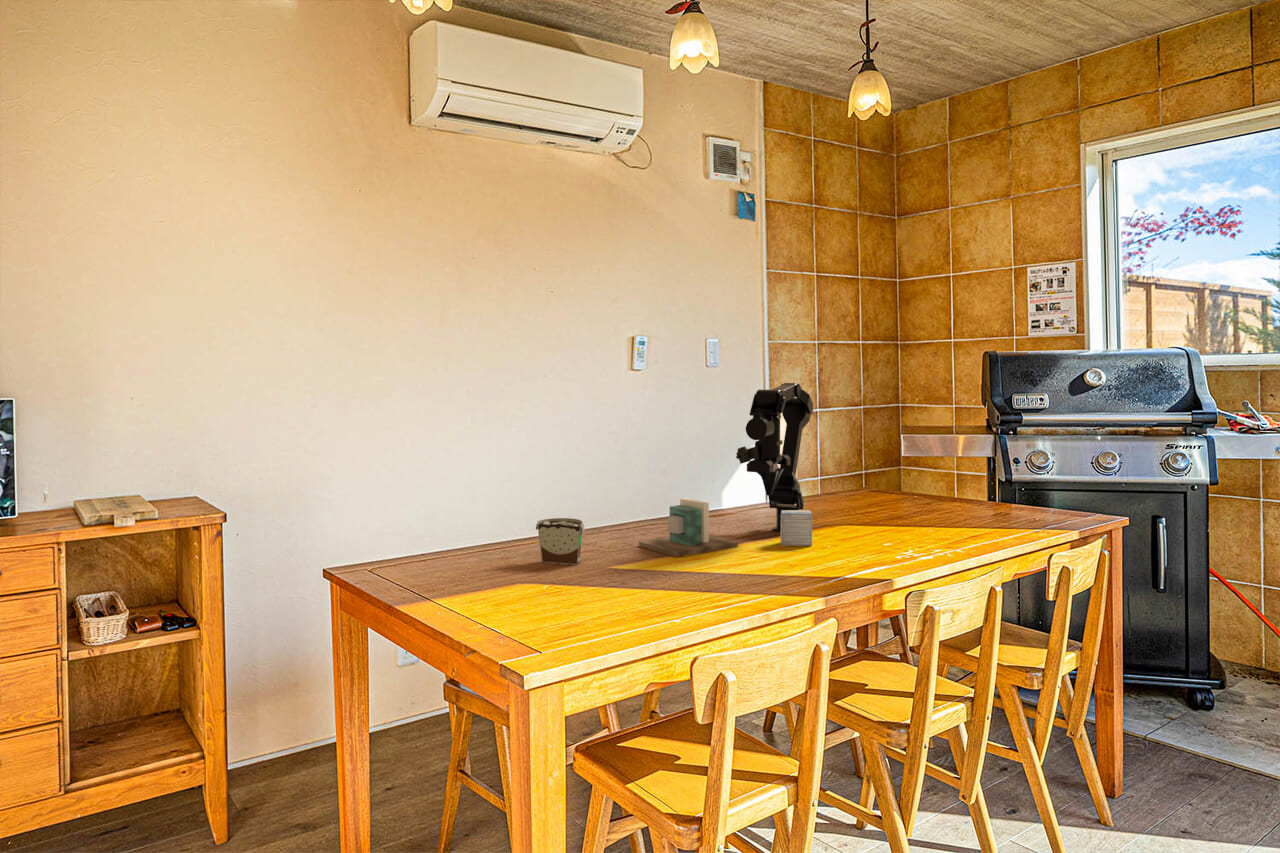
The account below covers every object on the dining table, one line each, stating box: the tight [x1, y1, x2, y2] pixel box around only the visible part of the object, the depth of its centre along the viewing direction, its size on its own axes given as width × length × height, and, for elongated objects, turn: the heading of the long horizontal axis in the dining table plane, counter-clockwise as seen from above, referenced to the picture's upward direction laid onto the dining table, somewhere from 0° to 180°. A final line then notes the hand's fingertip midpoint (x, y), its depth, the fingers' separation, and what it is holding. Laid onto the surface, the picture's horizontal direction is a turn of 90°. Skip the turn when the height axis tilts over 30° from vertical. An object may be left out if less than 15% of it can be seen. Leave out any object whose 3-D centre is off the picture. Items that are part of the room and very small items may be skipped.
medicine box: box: [780, 509, 813, 547], centre depth 221 cm, size 8×4×9 cm, turn 84°
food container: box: [535, 517, 586, 566], centre depth 206 cm, size 12×6×10 cm, turn 71°
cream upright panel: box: [667, 497, 710, 542], centre depth 220 cm, size 8×10×10 cm
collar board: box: [638, 504, 739, 558], centre depth 220 cm, size 20×16×10 cm
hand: (769, 495), depth 226 cm, fingers closed
